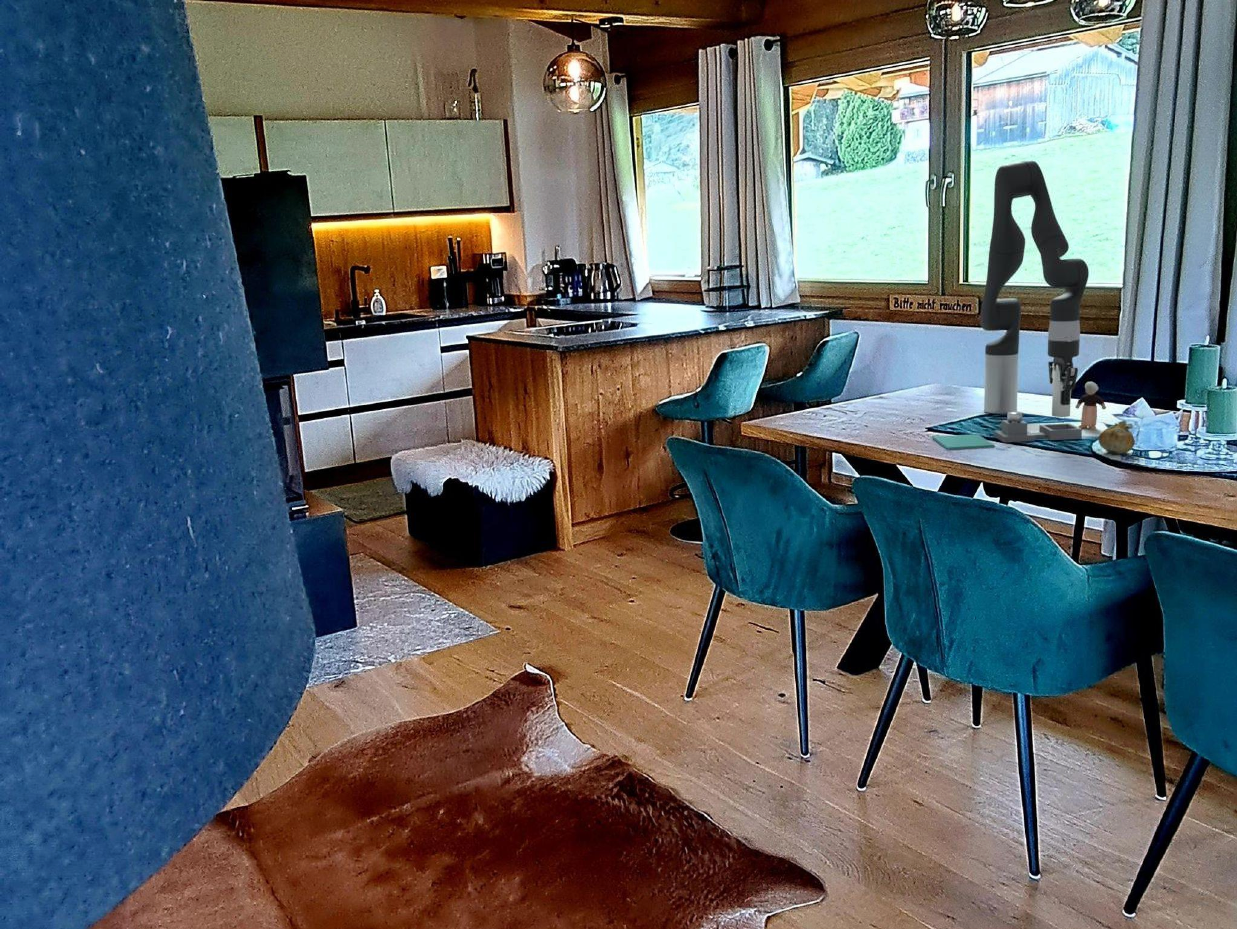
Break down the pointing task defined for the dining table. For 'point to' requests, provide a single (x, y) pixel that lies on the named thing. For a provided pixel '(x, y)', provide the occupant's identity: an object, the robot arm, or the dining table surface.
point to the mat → (963, 442)
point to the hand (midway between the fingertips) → (1061, 402)
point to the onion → (1117, 438)
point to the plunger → (1014, 417)
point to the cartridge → (1058, 399)
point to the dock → (1050, 431)
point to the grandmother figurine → (1090, 406)
